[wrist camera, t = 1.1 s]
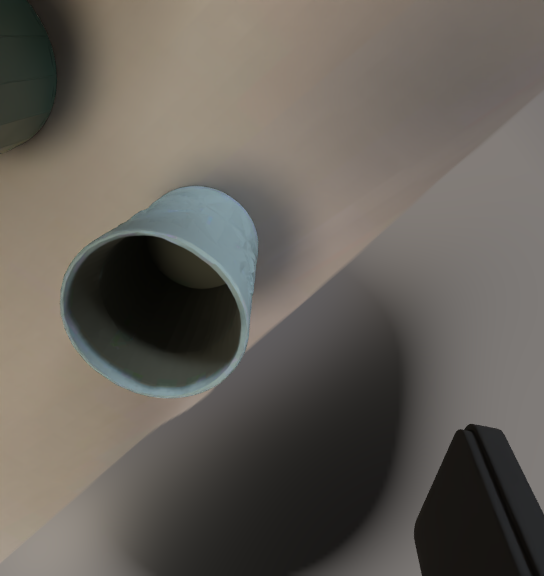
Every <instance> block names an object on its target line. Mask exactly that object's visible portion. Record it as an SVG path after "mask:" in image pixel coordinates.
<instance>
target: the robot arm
mask: <svg viewBox="0 0 544 576" xmlns="http://www.w3.org/2000/svg"><path fill="white" fill-rule="evenodd" d="M414 539H415V545H416V549H417V554H418V559H419V563H420V568H421V573H422V576H544V514H543V512H542V510H541V508H540V506H539V504H538V502H537V500H536V498H535V496H534V494H533V492H532V490H531V488H530V486H529V484H528V482H527V480H526V478H525V475H524V474H523V472H522V470H521V467H520V466H519V464H518V462H517V460H516V458H515V455H514V453H513V451H512V449H511V447H510V445H509V443H508V441H507V439H506V437H505V435H504V434H503V432H502V431H501V430H499V429H496V428H490V427H485V426H480V425H474V424H469V425H468V426H467V427H466V428H465V430H461V429H460V430H458V431H456V433H455V435H454V437H453V440H452V442H451V444H450V446H449V448H448V451H447V453H446V455H445V457H444V459H443V462H442V464H441V466H440V469H439V471H438V473H437V475H436V477H435V480H434V482H433V484H432V486H431V489H430V491H429V493H428V495H427V498H426V500H425V502H424V504H423V506H422V509H421V511H420V513H419V515H418V518H417V520H416V523H415V528H414Z"/></svg>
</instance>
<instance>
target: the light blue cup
mask: <svg viewBox="0 0 544 576" xmlns="http://www.w3.org/2000/svg"><path fill="white" fill-rule="evenodd" d="M257 256H258V237H257V232H256V229H255V226H254V223H253V221H252V219H251V217H250V216H249V214H248V213H247V211H246V210H245V209H244V208H243V207H242V206H241V205H240V204H239V203H238V202H237V201H236V200H234V199H233V198H232V197H230V196H228V195H227V194H225V193H223V192H221V191H219V190H216V189H213V188H209V187H203V186H187V187H182V188H178V189H176V190H173V191H170V192H169V193H167V194H165V195H164V196H162V197H161V198H160V199H158V200H157V201H156V202H154V203H153V204H151V206H150V207H149V208H148V209H146V210H144V211H140V212H138V213H137V214H135V215H134V216H133V217H131V219H129V220H128V221H127V222H125V223H122V224H120V225H119V226H118V227H116V228H114V229H113V230H111V231H109V232H107V233H106V234H104V235H102V236H101V237H99V238H97V239H96V240H94V241H93V242H91V243H90V244H88V245H87V246H86V247H85V248H83V249H82V250H81V251H80V252H79V253H78V254H77V256H76V257H75V258H74V259H73V261H72V262H71V264H70V265H69V267H68V269H67V271H66V273H65V275H64V279H63V283H62V287H61V296H60V311H61V317H62V320H63V324H64V328H65V330H66V332H67V334H68V337H69V339H70V341H71V343H72V345H73V346H74V348H75V349H76V350H77V352H78V353H79V354H80V355H81V357H82V358H83V359H84V360H85V361H86V362H87V363H88V364H89V365H90V366H91V367H92V368H93V369H94V370H95V371H97V372H98V373H100V374H101V375H103V376H104V377H106V378H107V379H109V380H110V381H112V382H113V383H114V384H116V385H118V386H120V387H123V388H125V389H127V390H130V391H132V392H134V393H138V394H142V395H145V396H150V397H158V398H180V397H188V396H192V395H196V394H199V393H202V392H204V391H207V390H209V389H211V388H213V387H215V386H216V385H218V384H219V383H221V382H222V381H224V380H225V378H227V377H228V376H229V375H230V374H231V373H232V372H233V371H234V369H235V368H236V367H237V365H238V364H239V363H240V361H241V359H242V356H243V355H244V353H245V350H246V347H247V342H248V337H249V325H250V314H251V303H252V295H253V290H254V282H255V271H256V263H257Z"/></svg>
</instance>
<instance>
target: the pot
mask: <svg viewBox="0 0 544 576" xmlns="http://www.w3.org/2000/svg"><path fill="white" fill-rule="evenodd" d="M56 86H57V72H56V63H55V57H54V53H53V50H52V46H51V43H50V40H49V38H48V35H47V32H46V30H45V28H44V26H43V24H42V22H41V21H40V19H39V17H38V16H37V14H36V12H35V11H34V9H33V8H32V6H31V5H30V4H29V3H28V2H27V0H0V154H1V153H4V152H6V151H8V150H10V149H12V148H14V147H16V146H18V145H20V144H22V143H24V142H26V141H27V140H29V139H30V138H32V137H33V136H34V135H35V134H36V133H37V132H38V131H39V130H40V129H41V127H42V126H43V125H44V123H45V122H46V120H47V118H48V116H49V114H50V112H51V109H52V107H53V104H54V99H55V95H56Z"/></svg>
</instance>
